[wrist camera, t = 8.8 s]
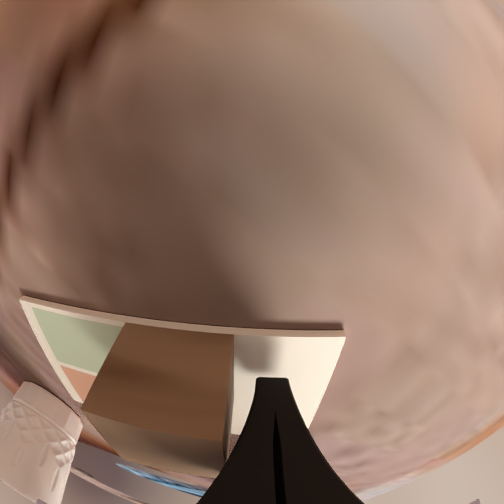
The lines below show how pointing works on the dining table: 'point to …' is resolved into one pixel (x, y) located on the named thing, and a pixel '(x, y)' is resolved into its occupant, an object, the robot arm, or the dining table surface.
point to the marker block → (166, 398)
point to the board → (245, 339)
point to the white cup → (37, 443)
